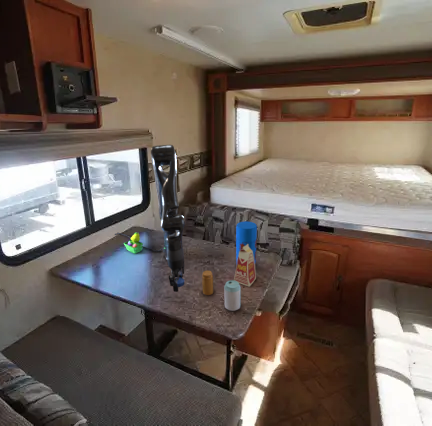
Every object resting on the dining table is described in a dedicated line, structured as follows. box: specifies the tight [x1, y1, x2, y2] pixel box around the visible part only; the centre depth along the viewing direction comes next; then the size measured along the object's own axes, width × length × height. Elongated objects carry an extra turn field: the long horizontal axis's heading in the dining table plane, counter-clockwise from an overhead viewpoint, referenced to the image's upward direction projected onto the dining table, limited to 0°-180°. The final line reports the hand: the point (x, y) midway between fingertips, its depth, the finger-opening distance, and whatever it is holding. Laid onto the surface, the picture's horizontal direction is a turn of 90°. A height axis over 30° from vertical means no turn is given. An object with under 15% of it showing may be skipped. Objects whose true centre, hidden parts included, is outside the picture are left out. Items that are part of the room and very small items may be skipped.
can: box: [223, 279, 242, 312], centre depth 124 cm, size 7×7×12 cm
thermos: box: [235, 221, 258, 266], centre depth 154 cm, size 11×11×25 cm
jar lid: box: [175, 277, 185, 288], centre depth 134 cm, size 6×6×2 cm
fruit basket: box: [123, 232, 144, 255], centre depth 180 cm, size 11×9×11 cm
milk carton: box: [233, 244, 257, 287], centre depth 143 cm, size 9×9×20 cm
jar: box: [201, 270, 214, 296], centre depth 136 cm, size 5×5×11 cm
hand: (178, 287), depth 135 cm, fingers closed on jar lid, 5 cm apart
